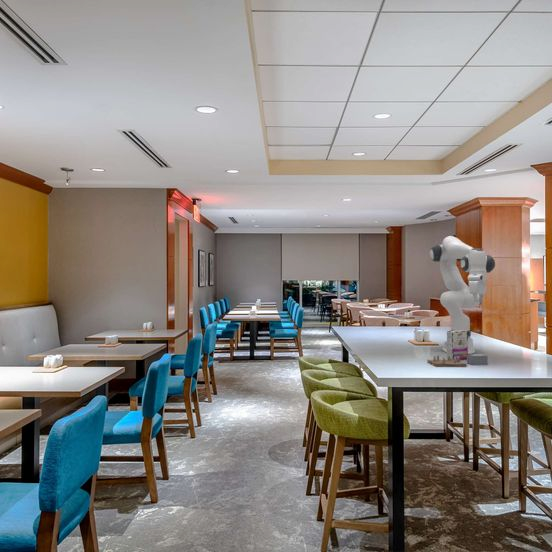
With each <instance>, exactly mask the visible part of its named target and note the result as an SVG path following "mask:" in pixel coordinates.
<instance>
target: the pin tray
mask: <svg viewBox="0 0 552 552" xmlns="http://www.w3.org/2000/svg"><path fill="white" fill-rule="evenodd" d="M426 361H427V363H428V364H430V365H432V366H434V367H436V368H439V367H440V368H467V365H468V364H467V362H463V361H460V360H459V356H457V360H456V357H454V360H450V355H448V359H446V357H442V359H440V354H437V355H433V359H426Z"/></svg>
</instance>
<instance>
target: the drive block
mask: <svg viewBox="0 0 552 552" xmlns="http://www.w3.org/2000/svg"><path fill="white" fill-rule="evenodd" d="M466 364H467V365H470V366H488V364H489V363H488V355H486V354H468V355H467V359H466Z"/></svg>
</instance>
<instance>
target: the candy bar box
mask: <svg viewBox="0 0 552 552" xmlns="http://www.w3.org/2000/svg"><path fill="white" fill-rule="evenodd" d="M446 341H447V353H446V355H447V359H446V360H448V355H450V360H454V357H456V360H457V356H459V361H460V360H467V355H469V354H468V346H467V331H465V330H456V331H450V330H447V331H446Z"/></svg>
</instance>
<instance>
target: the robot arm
mask: <svg viewBox="0 0 552 552" xmlns="http://www.w3.org/2000/svg"><path fill="white" fill-rule="evenodd" d="M429 256H430V258H431V260H432V261H433V262H435V263H439V262H440V264H439V265H440V266H439V269H440V274H441V277H442V279H443V282H444V286H445V287H446V289H448V291H444V292H442V293H441V295H440V298H439V302H440V304H441V306H442V307H444V308H445V310H446V311H447V312H448V314H449V317H450V330H449V331H456V330H465V331H467V346H468V355H473V354H474V353H475V354H476V352H477V351H476V350H474V341H473V338H472V337H471V335H472V334H471V326H470V325H471V320H470V319H471V318H470V317H469V316H468V315H467V314H465V313H464V312H463V309H472V308H476V307H478V306H479V305H480V303H484V295H487V282H486V281H487V279H488V277H487V275H488V274H489V273H491V272H492V271H493V270H494V268H495V267H496V261H495V259H494V258H493V256H492V255H490V254H486V250H485V249H484V248H474V247H473V246H470V245H468V244H466V243H465V242H463V241H461V239H459V238H458V237H457V236H456V237H455V236H453V235H449V236H446V237H444V239H443V240H442V243H441V244H437V245H434V246H432V247H431V248H430V250H429ZM457 262H459V263H460V264H459V266H460V269H461V270H462V272H464V273H469V274H468V276H467V281H468V284H466V282H465V280H464V279H463V277H462V275H461V272H460V270H459V268H458V266H457ZM443 343H444V346H445V347H442V348H441V349H442V351H443V352H444V353H446V354H447V340H446V341H444V342H443Z"/></svg>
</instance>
